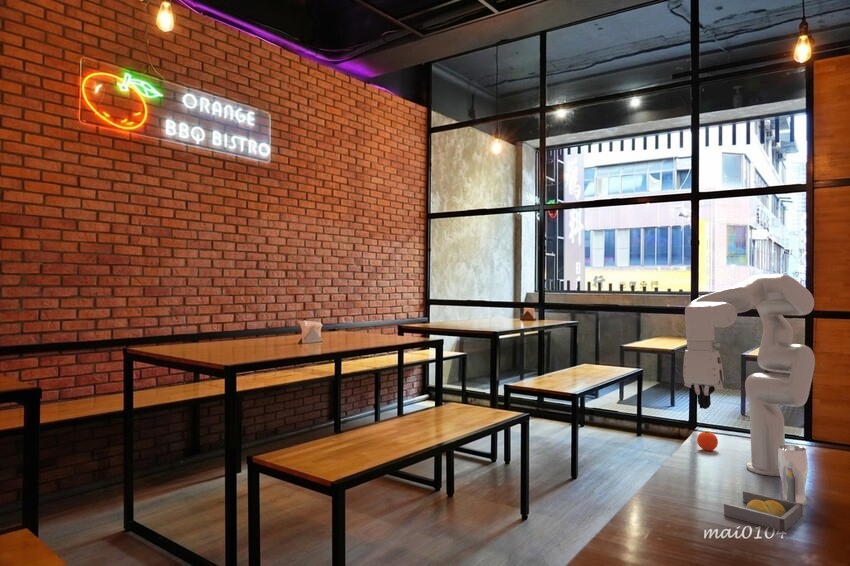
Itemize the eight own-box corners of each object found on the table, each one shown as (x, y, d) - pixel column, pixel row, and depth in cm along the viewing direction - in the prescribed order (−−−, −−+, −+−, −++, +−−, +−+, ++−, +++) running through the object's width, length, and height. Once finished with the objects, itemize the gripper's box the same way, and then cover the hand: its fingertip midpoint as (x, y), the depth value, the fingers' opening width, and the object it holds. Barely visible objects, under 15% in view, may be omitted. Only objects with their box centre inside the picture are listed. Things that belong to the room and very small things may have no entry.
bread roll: (743, 508, 151) (743, 493, 151) (782, 512, 147) (781, 497, 148) (749, 520, 143) (749, 504, 143) (790, 524, 140) (789, 508, 140)
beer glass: (814, 507, 150) (812, 451, 150) (785, 505, 151) (783, 451, 151) (802, 497, 156) (800, 444, 157) (775, 496, 158) (773, 444, 158)
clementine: (699, 446, 209) (698, 427, 209) (720, 448, 205) (719, 429, 205) (695, 451, 203) (695, 432, 203) (716, 454, 199) (716, 434, 199)
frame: (744, 501, 155) (744, 490, 155) (802, 515, 144) (802, 504, 144) (724, 515, 146) (723, 503, 146) (784, 531, 135) (784, 519, 135)
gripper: (732, 345, 160) (736, 408, 160) (680, 343, 171) (684, 402, 171) (723, 349, 155) (727, 414, 155) (670, 346, 166) (673, 407, 166)
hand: (704, 407), depth 163 cm, fingers closed
